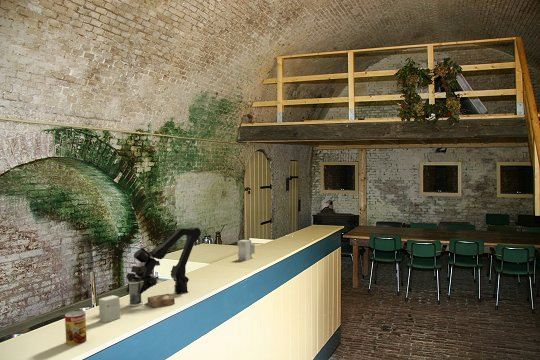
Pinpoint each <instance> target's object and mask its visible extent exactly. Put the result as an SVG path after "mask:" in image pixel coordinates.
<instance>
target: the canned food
mask: <svg viewBox="0 0 540 360" xmlns="http://www.w3.org/2000/svg"><path fill="white" fill-rule="evenodd" d="M86 314H87V313H86V311H84V310H73V311H68V312H67V313H65V314H64V326H65V328H64V329H65V344H66V346H70V345H72V346H73V347H74V346H78V345H82V344H85V343H86V342H87V341H88V340H87V322H86V321H87V320H86V319H87V318H86Z"/></svg>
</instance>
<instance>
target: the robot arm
mask: <svg viewBox="0 0 540 360" xmlns="http://www.w3.org/2000/svg"><path fill="white" fill-rule="evenodd" d="M201 235H202V231H201V229H200V228H199V227H193V226H192V227H191V226H190V227H189V228H183V227H182V228H181V227H179V228H177V230H175V232H174V233H173V234H171V235H170V236H169V237H168V238H167V239H166V240H165V241H164V242H163V243H162V244H160V245H157V246H156V247H155V248H153V249H152V250H150V251H147V250H146V249H145V248H143V247H140V249H138V250H137V251H135V252H134V254H133V258H134V259H135V260H136V261H138V262H139V263H140V264H143V265H139V266H137V265H135V266H134V265H133V266H132V267H131V270H130V272H128V273H127V274H126V276H125V278H126V279H127V282H128V284H127V288H126V292H127V293H129V281H132V280H141V282H142V283H143V284H141V289H140V291H139V294H141V295H142V294H143V293H144V292H146V291H147V290H149V289H150V288H152V287H154V286H156V285H157V283H158V280H157V279H156V278H155V277H154V275H153V274H154V272H153V271H154V269H155V267H156V266H157V267H158V266H161V263H160V260H163V259H164V258H165V256H166V255H167V254H168V251H169V250H170V249H171V248H172V247H173V246H174V245H175V244H176V243H177V242H178V241H180V239H181V238H182V237H184V236H185V237H186V241H185V244H184V246H183V249H182V252H181V254H180V257H179V259H178V262H177V264H176V265H172V267H171V270H170V278H171V279H172V280H173V281H174V283H175V284H174V286H173V287H174V294H175V293H176V294H177V295H182V294H186V293H189V291H188V283H189V281H190V279H189V277H187V276H186V271H187V270H186V269H187V267H186V266H187V263H188V261H189V258H190V255H191V253H192V251H193V248H194V245H195V243H196V242H197V241H198V240H199V238H200V237H201Z"/></svg>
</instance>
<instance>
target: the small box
mask: <svg viewBox="0 0 540 360" xmlns="http://www.w3.org/2000/svg"><path fill="white" fill-rule="evenodd" d="M120 301H121V300H120V296H117V295H113V294H112V295H109V296H105V297H102V298H99V299H98V310H99V311H98V313H99V321H101V322H103V323H109V322H112V321H116V320H118V319H121V304H120V303H121V302H120Z"/></svg>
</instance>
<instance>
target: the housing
mask: <svg viewBox="0 0 540 360" xmlns="http://www.w3.org/2000/svg"><path fill="white" fill-rule="evenodd" d="M141 287H142V281H141V280H132V281H129V292H128V294H129V303H128V306H129V307H132V308H133V307H139V306H142V305H144V304H143V303H144V302H143V301H142V293H141V294H139V291H140V289H141Z"/></svg>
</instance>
